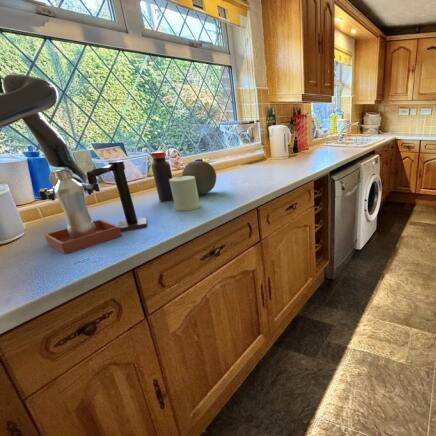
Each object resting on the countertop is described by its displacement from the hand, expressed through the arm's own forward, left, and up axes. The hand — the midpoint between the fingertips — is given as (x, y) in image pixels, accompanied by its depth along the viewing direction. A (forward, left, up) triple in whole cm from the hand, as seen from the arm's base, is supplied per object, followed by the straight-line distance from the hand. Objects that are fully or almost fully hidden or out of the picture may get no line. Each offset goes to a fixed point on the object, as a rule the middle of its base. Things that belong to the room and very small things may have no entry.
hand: (71, 194), depth 89 cm
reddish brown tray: (+1, -5, -13) cm, 14 cm away
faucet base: (+13, +1, -13) cm, 18 cm away
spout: (+11, -5, +5) cm, 13 cm away
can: (+31, +13, -13) cm, 36 cm away
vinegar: (+25, +31, -13) cm, 42 cm away
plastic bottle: (+1, -5, -13) cm, 14 cm away
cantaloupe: (+39, +30, -13) cm, 51 cm away
